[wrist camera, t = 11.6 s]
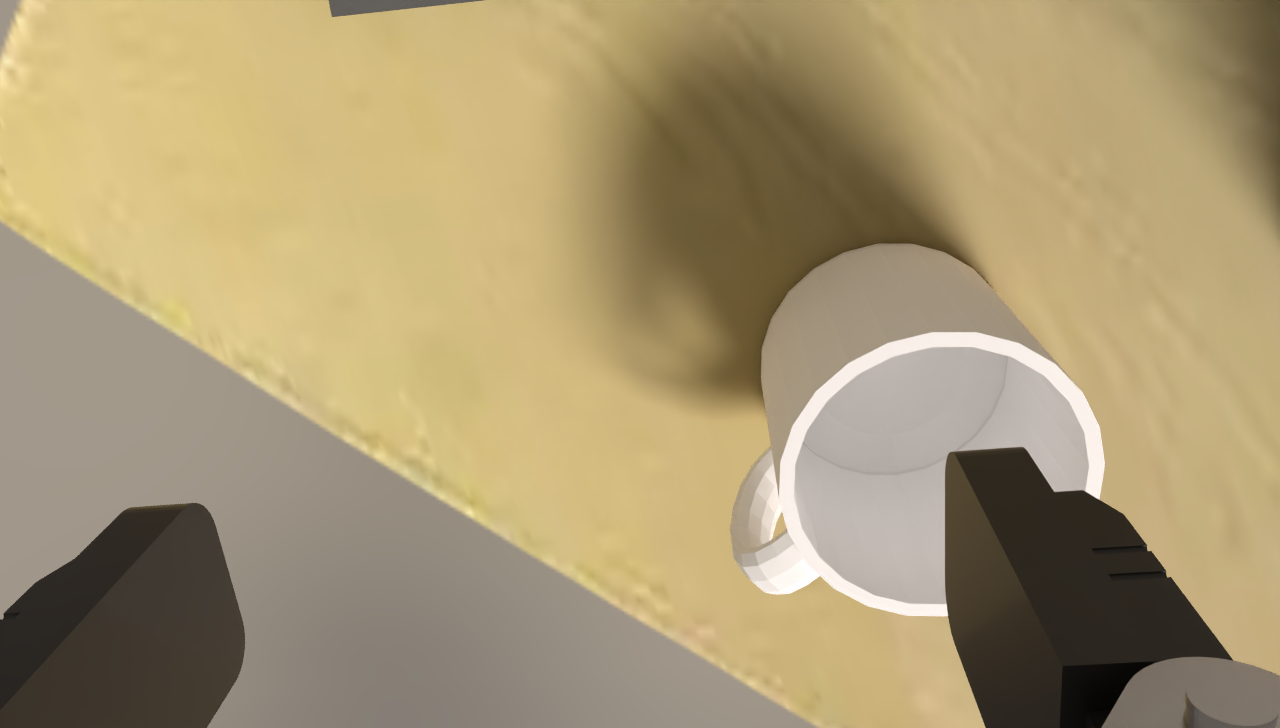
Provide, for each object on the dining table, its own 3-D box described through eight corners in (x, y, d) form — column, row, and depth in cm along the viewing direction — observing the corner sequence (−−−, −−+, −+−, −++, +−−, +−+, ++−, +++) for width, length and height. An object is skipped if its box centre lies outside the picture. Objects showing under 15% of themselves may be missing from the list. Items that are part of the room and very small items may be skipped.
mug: (922, 188, 40) (993, 265, 30) (1059, 383, 42) (1164, 510, 33) (660, 375, 43) (650, 497, 34) (801, 545, 46) (830, 703, 36)
